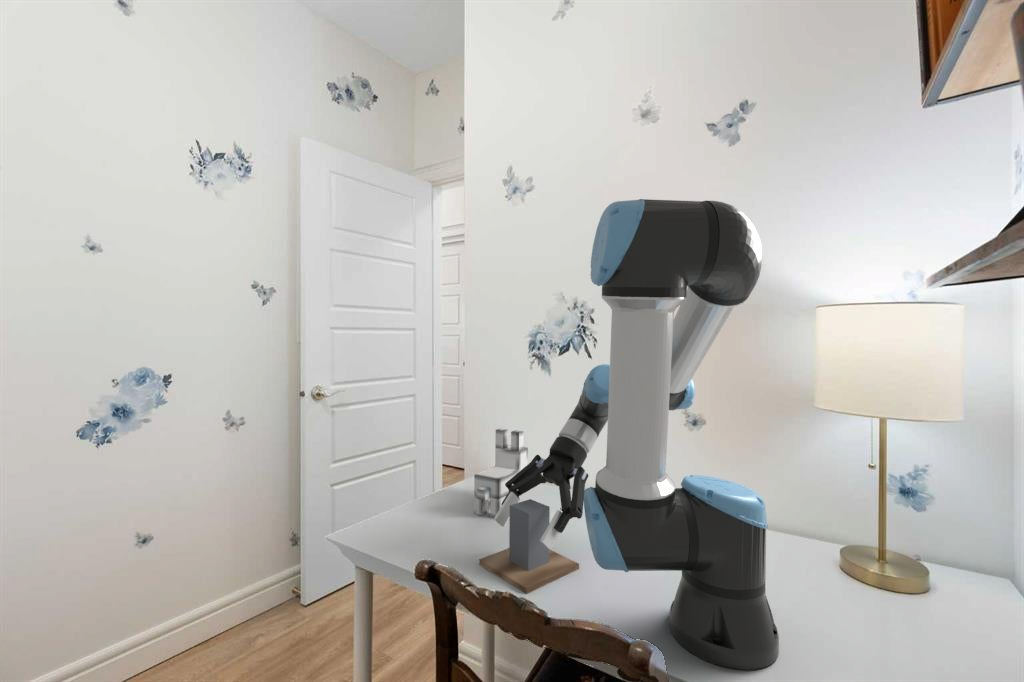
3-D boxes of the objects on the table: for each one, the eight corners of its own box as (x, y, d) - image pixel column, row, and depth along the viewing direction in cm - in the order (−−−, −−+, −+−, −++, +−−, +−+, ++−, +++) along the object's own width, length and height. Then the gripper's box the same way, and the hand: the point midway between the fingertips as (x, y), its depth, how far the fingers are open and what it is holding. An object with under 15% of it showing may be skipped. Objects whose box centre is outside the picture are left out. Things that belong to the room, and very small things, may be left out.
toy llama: (468, 516, 117) (469, 437, 117) (504, 496, 132) (504, 427, 132) (493, 522, 113) (493, 441, 113) (527, 501, 128) (527, 429, 128)
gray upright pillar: (549, 562, 91) (549, 506, 91) (528, 571, 88) (528, 513, 88) (529, 552, 95) (530, 499, 95) (509, 560, 92) (509, 505, 92)
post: (578, 568, 91) (579, 528, 91) (526, 593, 82) (526, 548, 82) (530, 544, 101) (530, 508, 101) (479, 564, 92) (479, 524, 92)
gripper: (628, 467, 92) (577, 566, 82) (541, 445, 111) (491, 523, 101) (612, 445, 89) (557, 545, 79) (524, 426, 107) (471, 505, 98)
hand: (520, 533), depth 90 cm, fingers open, 13 cm apart
